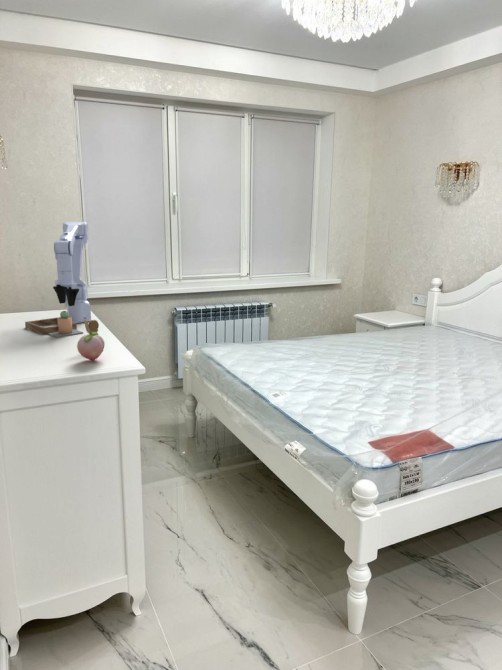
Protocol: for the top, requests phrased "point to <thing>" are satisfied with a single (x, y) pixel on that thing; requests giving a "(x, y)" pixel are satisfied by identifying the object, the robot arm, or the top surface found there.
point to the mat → (56, 334)
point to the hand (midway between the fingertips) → (66, 304)
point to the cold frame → (38, 323)
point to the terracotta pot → (64, 323)
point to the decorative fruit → (91, 346)
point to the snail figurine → (91, 326)
